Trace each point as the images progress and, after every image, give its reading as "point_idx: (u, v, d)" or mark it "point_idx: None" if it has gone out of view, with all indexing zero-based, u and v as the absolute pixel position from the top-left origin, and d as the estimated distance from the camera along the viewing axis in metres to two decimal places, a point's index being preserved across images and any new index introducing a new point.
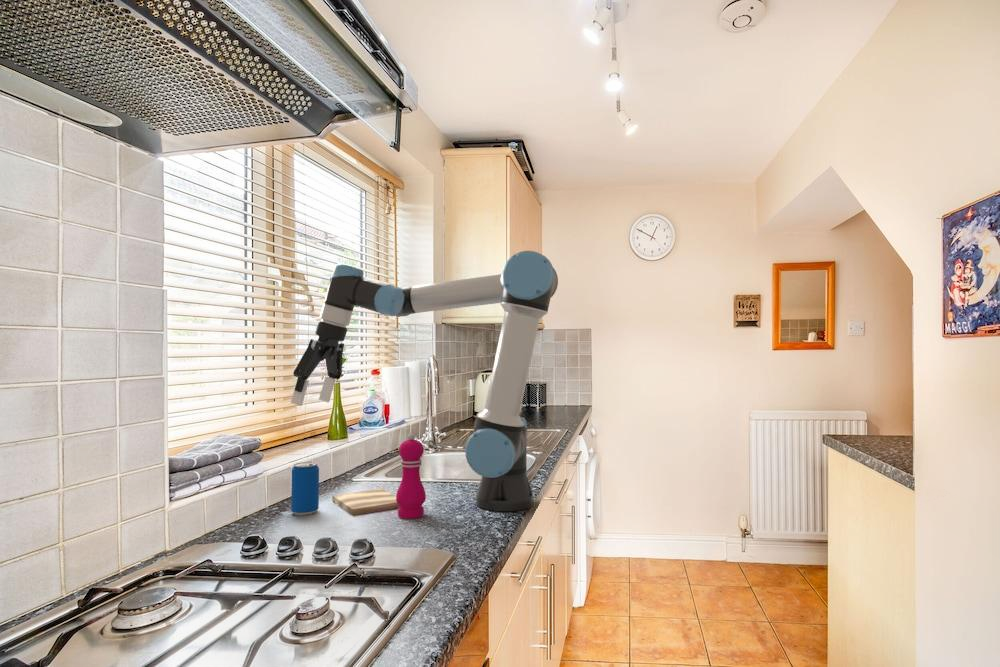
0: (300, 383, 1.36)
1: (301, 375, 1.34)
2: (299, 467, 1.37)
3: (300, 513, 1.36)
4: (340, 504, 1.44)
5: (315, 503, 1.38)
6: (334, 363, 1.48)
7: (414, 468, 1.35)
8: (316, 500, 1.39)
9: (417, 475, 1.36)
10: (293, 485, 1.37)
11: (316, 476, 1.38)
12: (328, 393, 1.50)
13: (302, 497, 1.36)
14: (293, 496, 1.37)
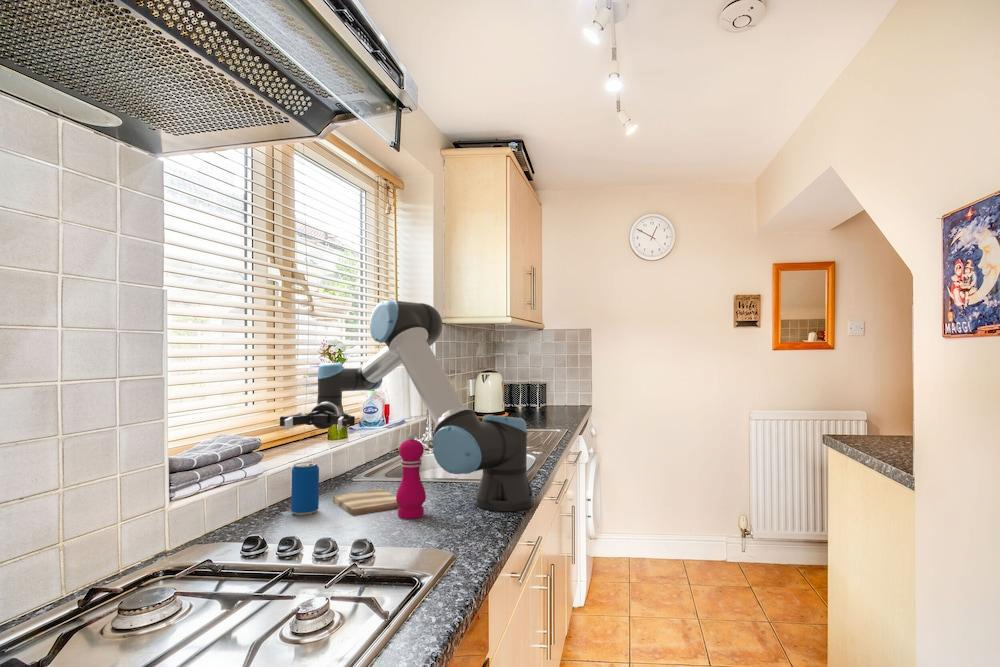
0: None
1: (280, 417, 1.55)
2: (299, 467, 1.37)
3: (300, 513, 1.36)
4: (340, 504, 1.44)
5: (315, 503, 1.38)
6: (335, 415, 1.60)
7: (414, 468, 1.35)
8: (316, 500, 1.39)
9: (417, 475, 1.36)
10: (293, 485, 1.37)
11: (316, 476, 1.38)
12: None
13: (302, 497, 1.36)
14: (293, 496, 1.37)
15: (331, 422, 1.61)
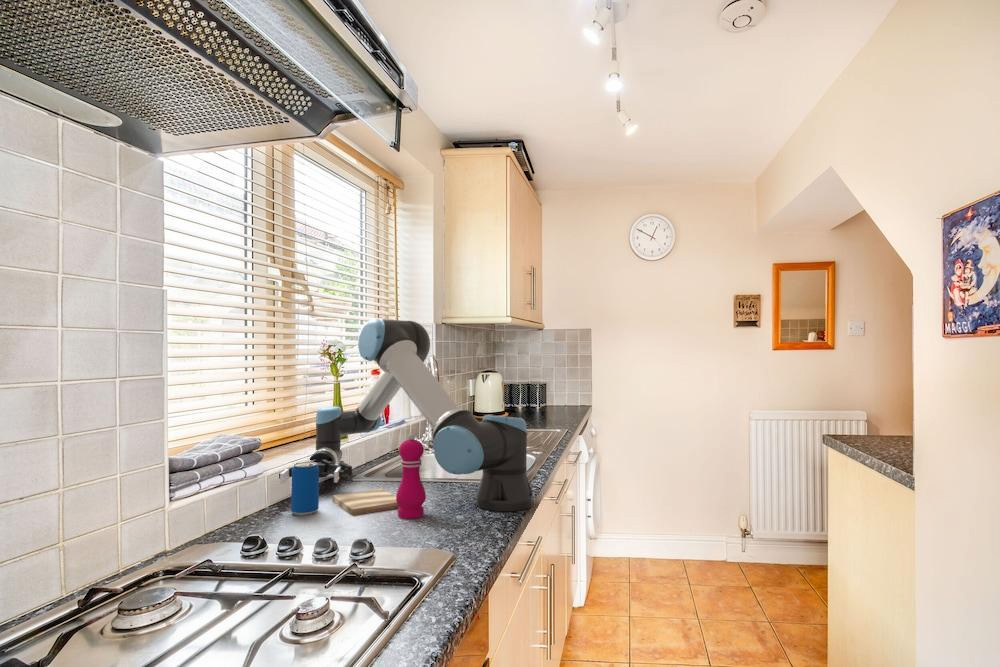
0: None
1: None
2: (299, 467, 1.37)
3: (300, 513, 1.36)
4: (340, 504, 1.44)
5: (315, 503, 1.38)
6: (332, 465, 1.57)
7: (414, 468, 1.35)
8: (316, 500, 1.39)
9: (417, 475, 1.36)
10: (293, 485, 1.37)
11: (316, 476, 1.38)
12: None
13: (302, 497, 1.36)
14: (293, 496, 1.37)
15: (328, 472, 1.58)
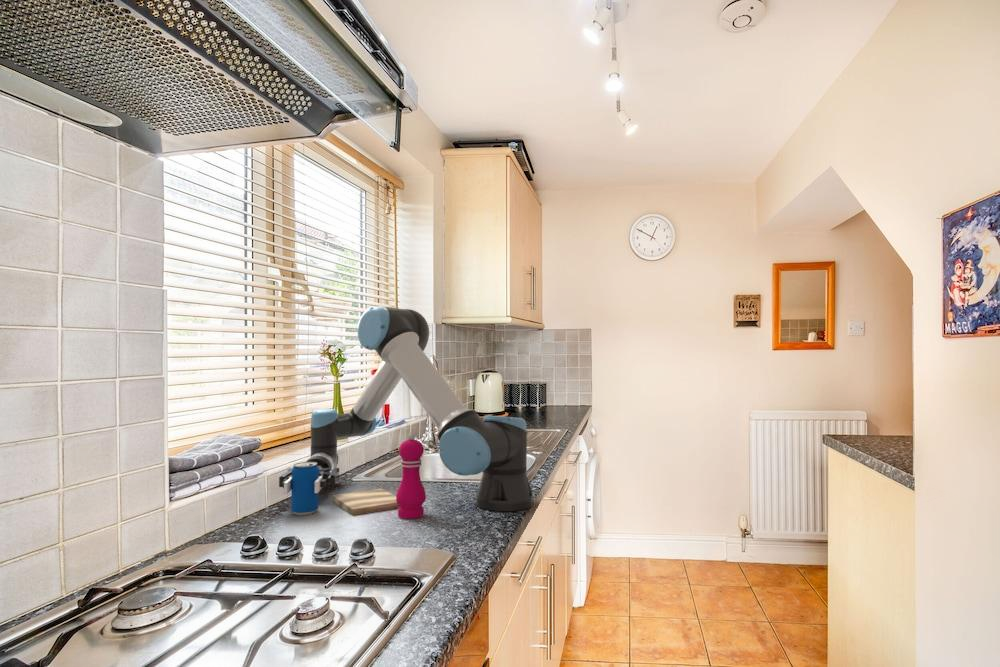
0: None
1: (279, 477, 1.41)
2: (299, 467, 1.37)
3: (300, 513, 1.36)
4: (340, 504, 1.44)
5: (315, 503, 1.38)
6: (320, 472, 1.47)
7: (414, 468, 1.35)
8: (316, 500, 1.39)
9: (417, 475, 1.36)
10: (293, 485, 1.37)
11: (316, 476, 1.38)
12: None
13: (302, 497, 1.36)
14: (293, 496, 1.37)
15: None
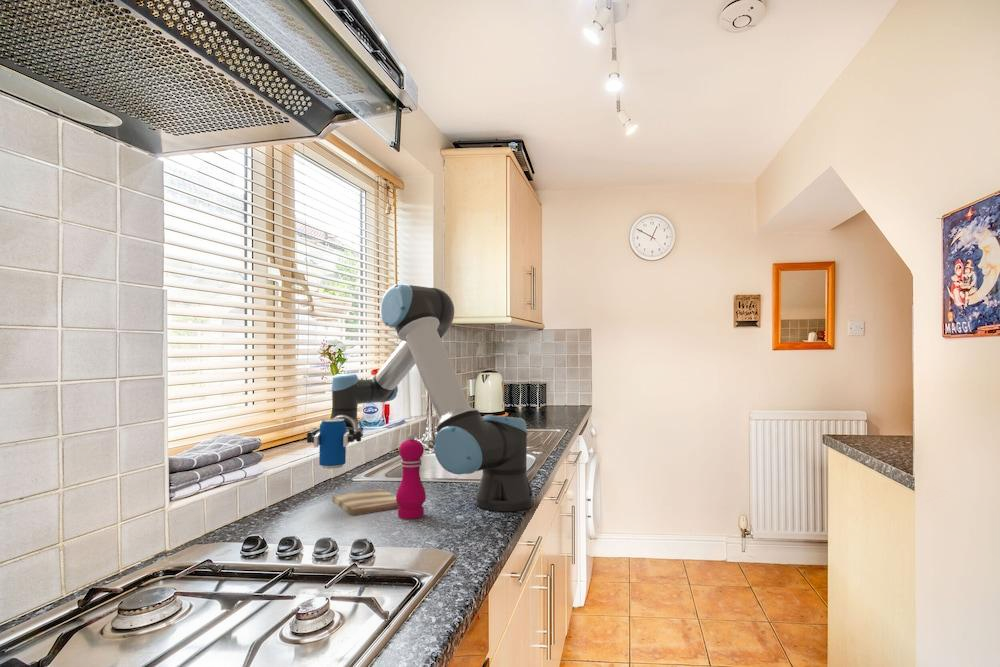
0: None
1: (307, 433, 1.45)
2: (327, 422, 1.41)
3: (329, 466, 1.41)
4: (340, 504, 1.44)
5: (343, 457, 1.43)
6: (346, 430, 1.51)
7: (414, 468, 1.35)
8: (344, 454, 1.43)
9: (417, 475, 1.36)
10: (322, 439, 1.41)
11: (343, 431, 1.43)
12: None
13: (331, 450, 1.41)
14: (322, 450, 1.41)
15: None
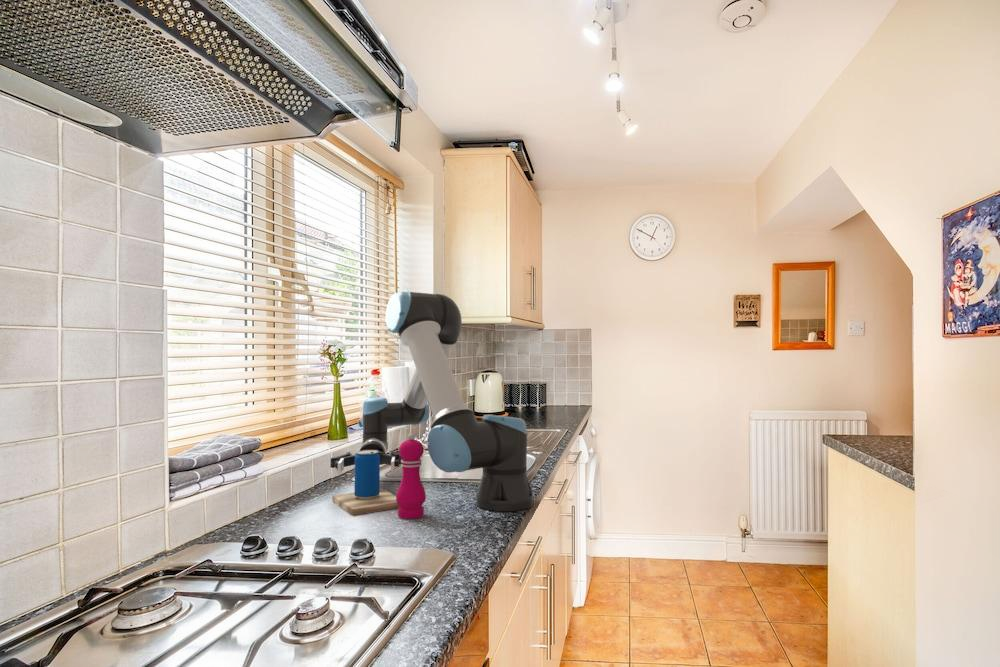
0: None
1: None
2: (362, 454, 1.46)
3: (364, 497, 1.45)
4: (340, 504, 1.44)
5: (377, 488, 1.47)
6: (385, 455, 1.57)
7: (414, 468, 1.35)
8: (378, 485, 1.48)
9: (417, 475, 1.36)
10: (357, 471, 1.46)
11: (377, 463, 1.47)
12: (391, 461, 1.48)
13: (366, 482, 1.45)
14: (357, 481, 1.46)
15: (381, 462, 1.57)
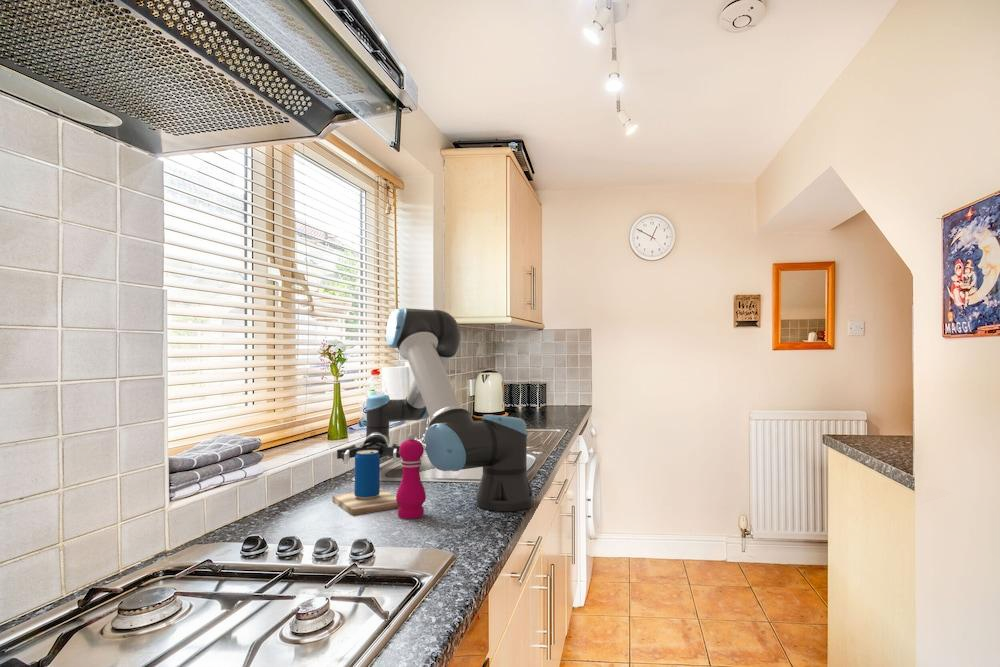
0: None
1: (337, 450, 1.64)
2: (362, 454, 1.46)
3: (364, 497, 1.45)
4: (340, 504, 1.44)
5: (377, 488, 1.47)
6: (387, 447, 1.69)
7: (414, 468, 1.35)
8: (378, 485, 1.48)
9: (417, 475, 1.36)
10: (357, 471, 1.46)
11: (377, 463, 1.47)
12: None
13: (366, 482, 1.45)
14: (357, 481, 1.46)
15: (384, 453, 1.70)
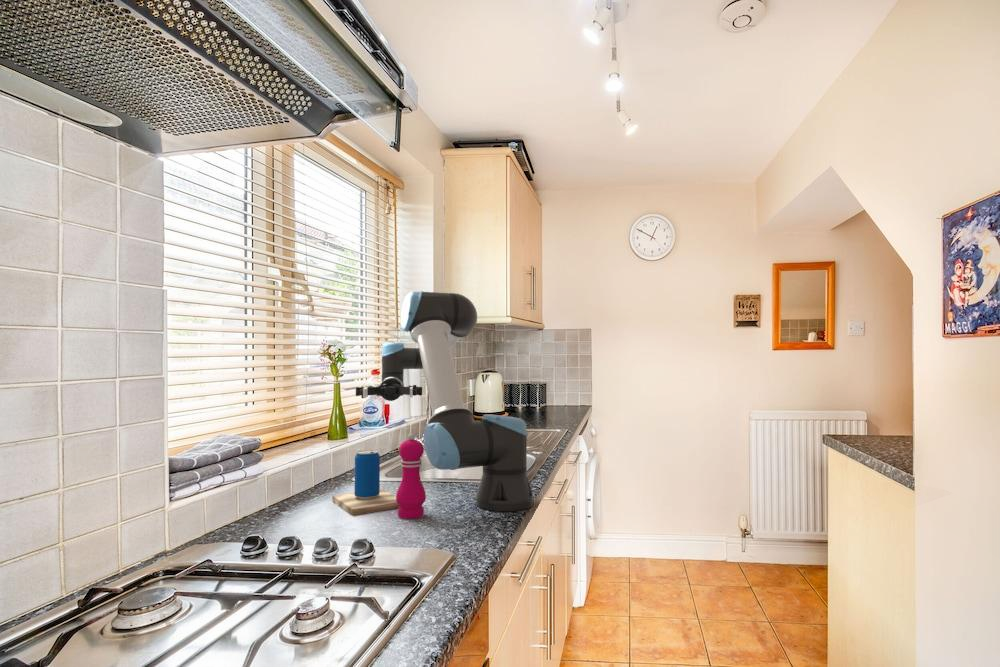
0: None
1: (356, 388, 1.71)
2: (363, 454, 1.46)
3: (364, 497, 1.45)
4: (340, 504, 1.44)
5: (377, 488, 1.47)
6: (403, 386, 1.76)
7: (414, 468, 1.35)
8: (378, 485, 1.48)
9: (417, 475, 1.36)
10: (357, 471, 1.46)
11: (377, 463, 1.47)
12: None
13: (366, 482, 1.45)
14: (357, 481, 1.46)
15: (400, 393, 1.77)
